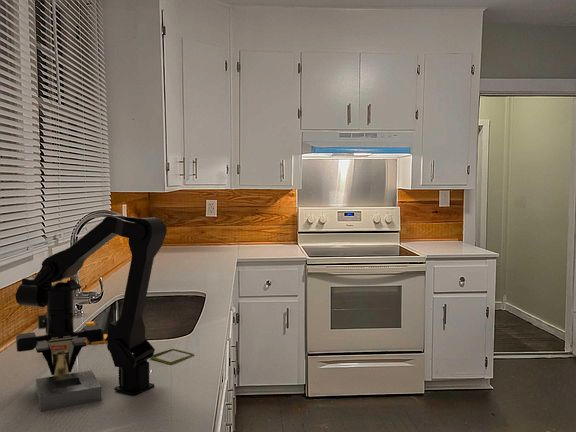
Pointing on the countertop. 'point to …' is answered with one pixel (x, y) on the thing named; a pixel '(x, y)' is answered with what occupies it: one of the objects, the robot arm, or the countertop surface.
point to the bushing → (61, 362)
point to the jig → (67, 390)
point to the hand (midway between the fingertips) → (61, 373)
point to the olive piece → (169, 351)
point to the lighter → (60, 345)
